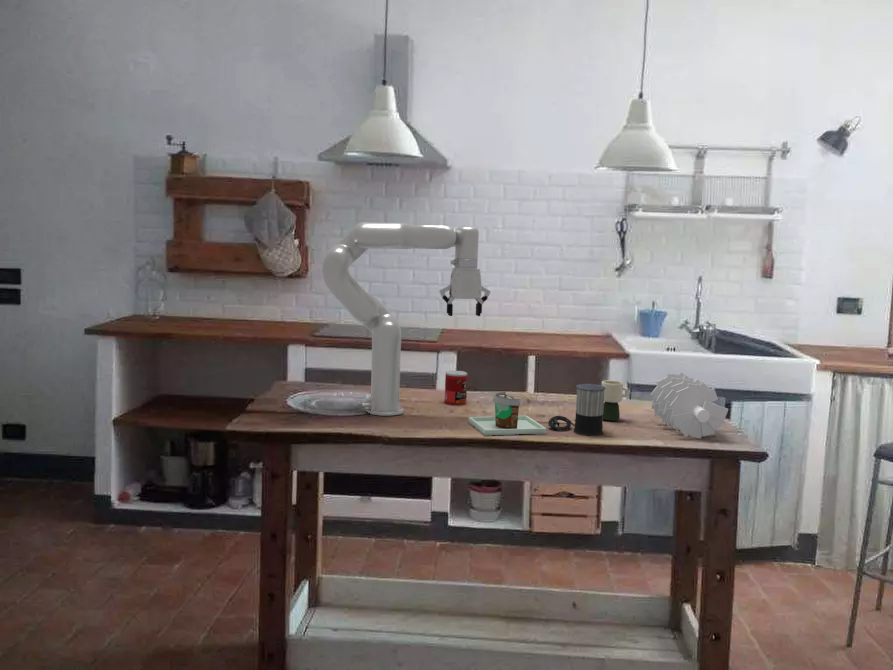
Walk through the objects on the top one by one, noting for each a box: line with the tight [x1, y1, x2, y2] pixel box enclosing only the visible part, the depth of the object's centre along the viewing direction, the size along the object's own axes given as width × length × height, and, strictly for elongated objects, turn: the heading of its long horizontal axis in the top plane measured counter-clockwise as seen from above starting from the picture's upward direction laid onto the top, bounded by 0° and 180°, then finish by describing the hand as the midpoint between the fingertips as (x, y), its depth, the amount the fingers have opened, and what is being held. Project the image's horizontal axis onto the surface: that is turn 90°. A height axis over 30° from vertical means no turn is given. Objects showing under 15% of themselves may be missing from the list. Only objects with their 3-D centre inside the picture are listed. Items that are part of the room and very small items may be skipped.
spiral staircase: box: [650, 371, 729, 439], centre depth 302 cm, size 18×18×25 cm
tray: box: [468, 415, 547, 437], centre depth 299 cm, size 20×18×2 cm
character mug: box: [601, 379, 629, 421], centre depth 315 cm, size 11×7×13 cm, turn 94°
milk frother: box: [547, 383, 606, 436], centre depth 298 cm, size 14×16×15 cm
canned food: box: [444, 370, 468, 406], centre depth 334 cm, size 8×8×11 cm
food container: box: [492, 391, 521, 429], centre depth 298 cm, size 12×6×10 cm, turn 19°
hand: (464, 315), depth 313 cm, fingers open, 9 cm apart
